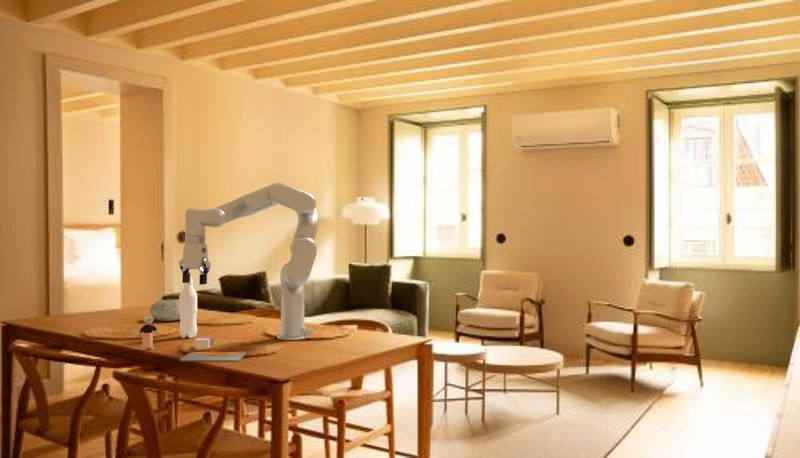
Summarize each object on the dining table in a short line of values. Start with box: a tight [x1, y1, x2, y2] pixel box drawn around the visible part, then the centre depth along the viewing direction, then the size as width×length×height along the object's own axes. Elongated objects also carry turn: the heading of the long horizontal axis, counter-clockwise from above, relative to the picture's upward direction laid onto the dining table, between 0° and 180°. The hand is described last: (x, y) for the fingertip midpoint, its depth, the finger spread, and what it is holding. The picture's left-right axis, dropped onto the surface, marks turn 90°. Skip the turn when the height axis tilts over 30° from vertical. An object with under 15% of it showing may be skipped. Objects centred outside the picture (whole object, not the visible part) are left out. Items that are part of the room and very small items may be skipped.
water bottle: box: [178, 276, 198, 339], centre depth 266 cm, size 7×7×25 cm
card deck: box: [194, 335, 215, 349], centre depth 244 cm, size 5×8×4 cm, turn 1°
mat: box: [179, 351, 247, 363], centre depth 228 cm, size 20×14×1 cm
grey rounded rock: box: [149, 298, 180, 322], centre depth 310 cm, size 18×18×10 cm
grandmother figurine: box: [137, 314, 159, 351], centre depth 241 cm, size 8×4×13 cm, turn 148°
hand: (194, 283), depth 253 cm, fingers open, 9 cm apart
